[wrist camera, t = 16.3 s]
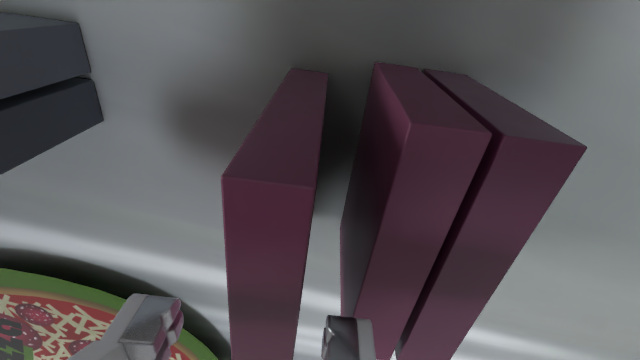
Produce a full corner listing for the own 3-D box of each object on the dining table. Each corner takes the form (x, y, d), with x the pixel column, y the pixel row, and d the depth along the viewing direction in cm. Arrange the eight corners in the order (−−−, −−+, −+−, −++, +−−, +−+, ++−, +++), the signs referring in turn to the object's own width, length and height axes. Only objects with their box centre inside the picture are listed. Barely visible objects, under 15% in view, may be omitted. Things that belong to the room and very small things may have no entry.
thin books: (374, 61, 19) (410, 122, 10) (466, 74, 19) (588, 147, 10) (339, 228, 27) (341, 356, 17) (406, 237, 27) (444, 368, 17)
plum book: (281, 213, 26) (233, 397, 14) (290, 67, 20) (219, 176, 8) (310, 216, 26) (286, 403, 14) (328, 73, 20) (316, 188, 8)
